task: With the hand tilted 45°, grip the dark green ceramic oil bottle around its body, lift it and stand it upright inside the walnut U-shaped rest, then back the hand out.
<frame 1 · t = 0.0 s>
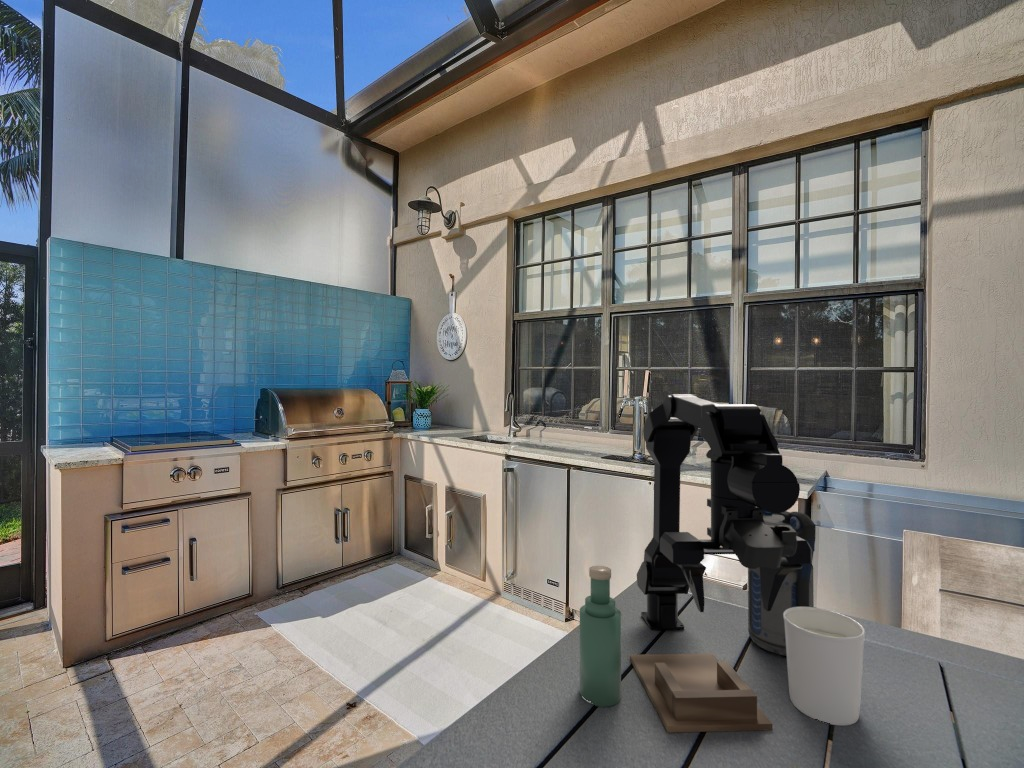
hand: (733, 610, 67), 15 cm above the table, tool pointing down, fingers open, 9 cm apart
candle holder: (823, 708, 69), on the table
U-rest: (699, 700, 71), on the table
beverage bottle: (783, 648, 85), on the table
oil bottle: (600, 693, 72), on the table
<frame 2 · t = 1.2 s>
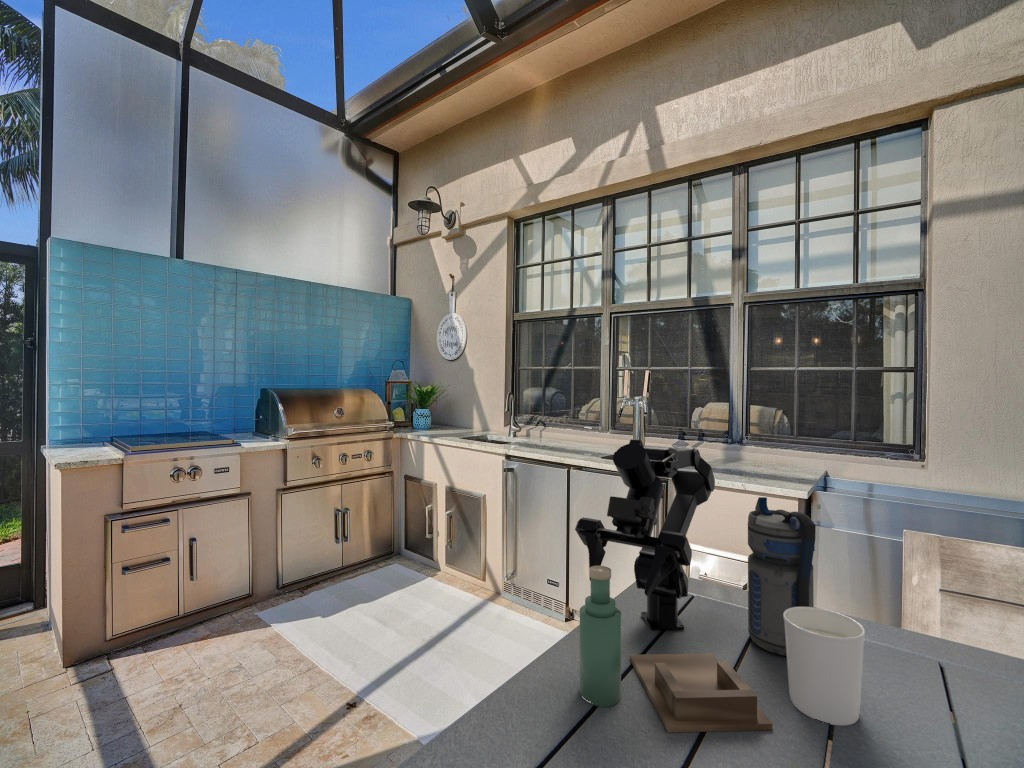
hand: (617, 587, 78), 13 cm above the table, tool tilted 45°, fingers open, 9 cm apart
nothing on the table moved.
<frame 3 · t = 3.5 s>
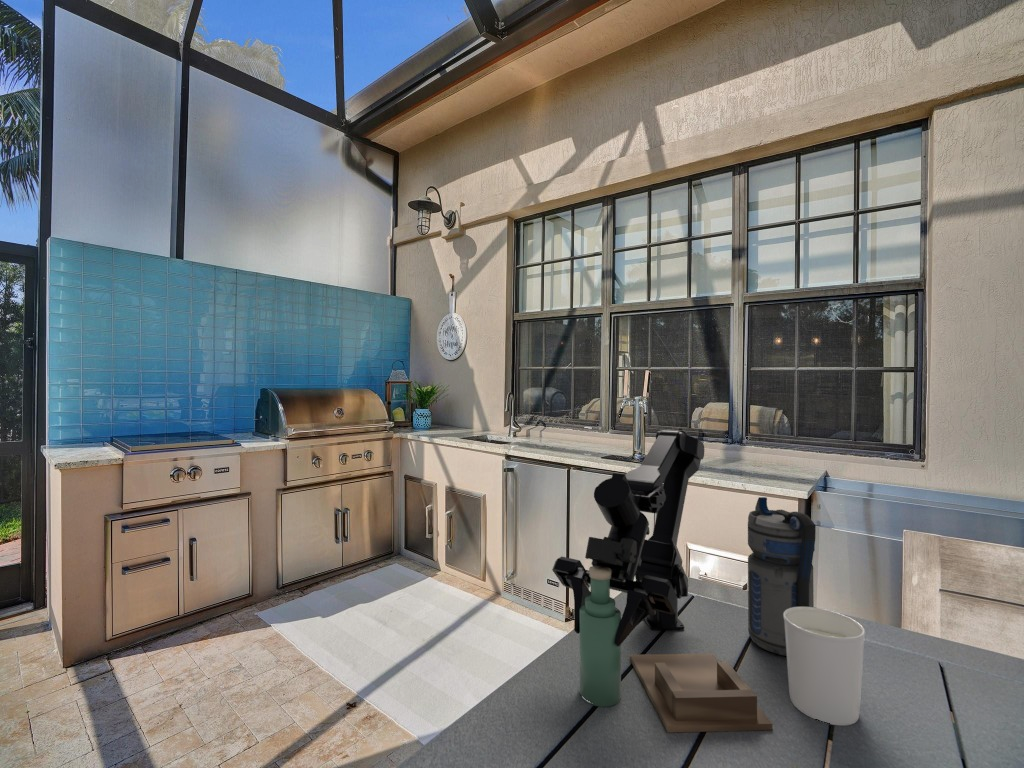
hand: (596, 638, 71), 9 cm above the table, tool tilted 45°, fingers closed on oil bottle, 6 cm apart
oil bottle: (600, 693, 72), on the table, touching gripper
everything else where it was.
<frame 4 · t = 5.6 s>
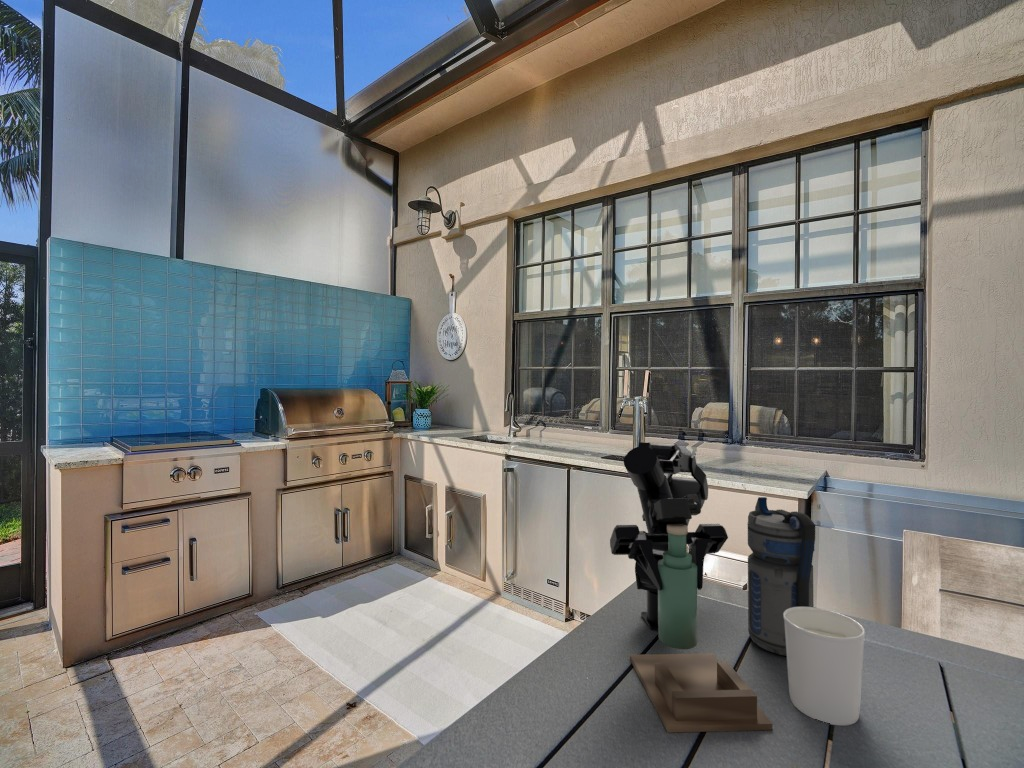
hand: (680, 589, 77), 13 cm above the table, tool tilted 45°, fingers closed on oil bottle, 6 cm apart
oil bottle: (677, 639, 79), point 5 cm above the table, touching gripper
everything else where it was.
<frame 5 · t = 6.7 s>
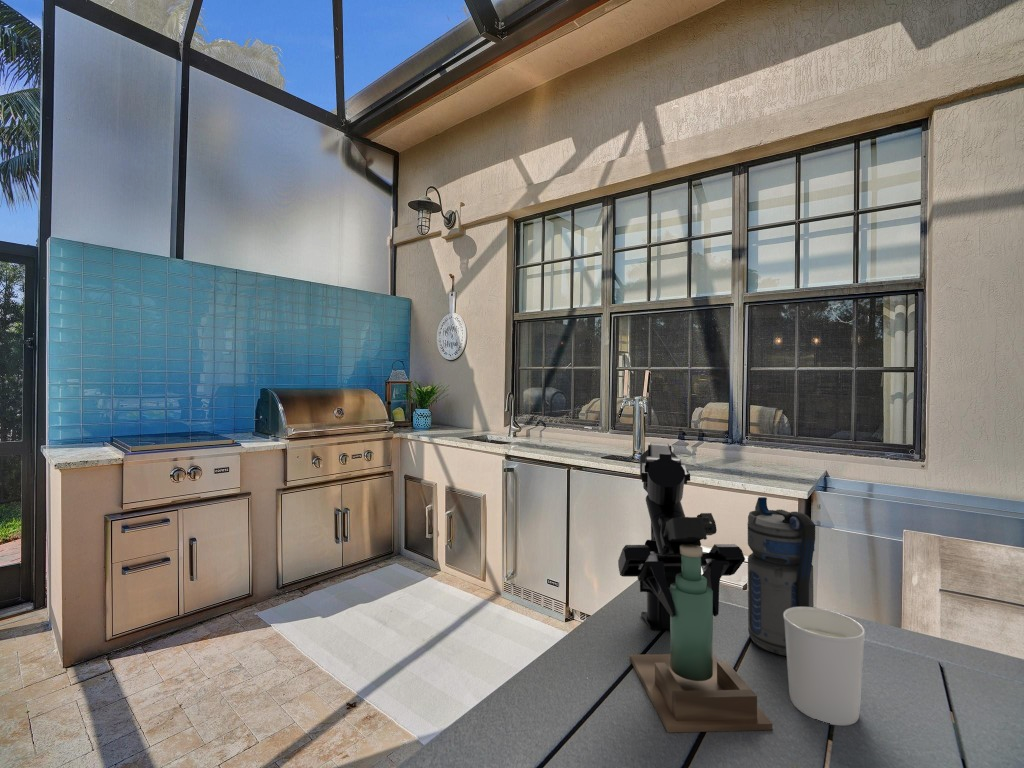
hand: (694, 615, 72), 12 cm above the table, tool tilted 45°, fingers closed on oil bottle, 6 cm apart
oil bottle: (691, 669, 73), point 3 cm above the table, touching gripper
everything else where it was.
when the fingers open (11 cm above the table, at t = 7.7 s): oil bottle drops 1 cm, resting on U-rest.
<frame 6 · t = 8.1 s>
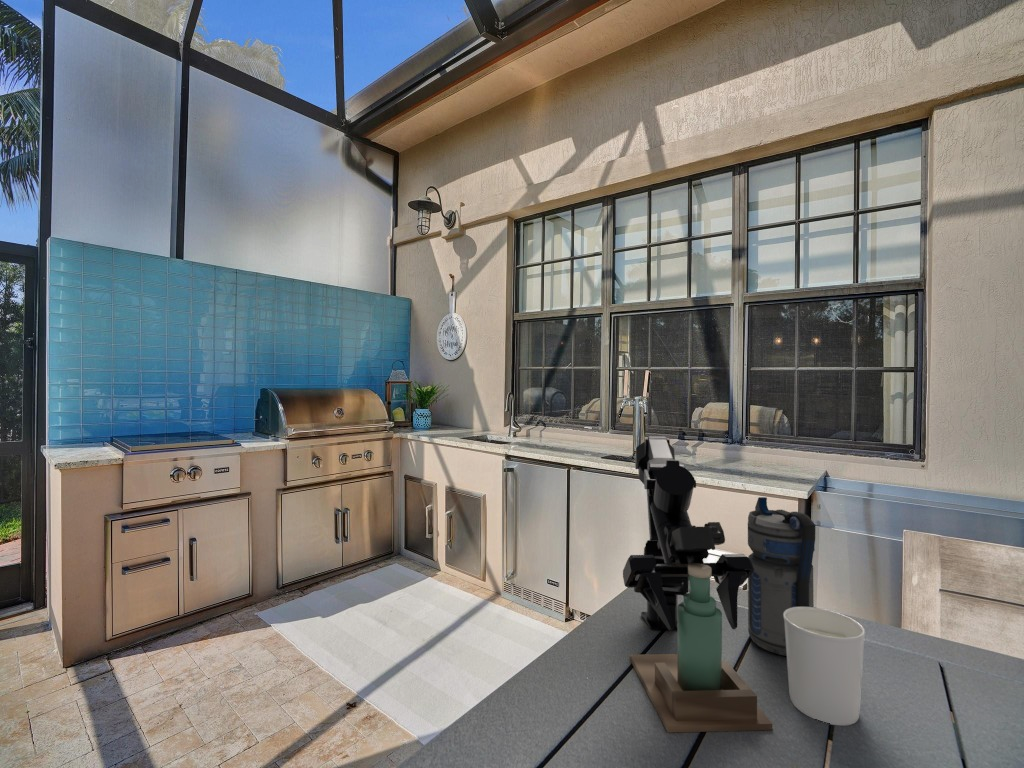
hand: (703, 628, 69), 11 cm above the table, tool tilted 45°, fingers open, 9 cm apart
oil bottle: (699, 693, 71), point 1 cm above the table, touching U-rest
everything else where it was.
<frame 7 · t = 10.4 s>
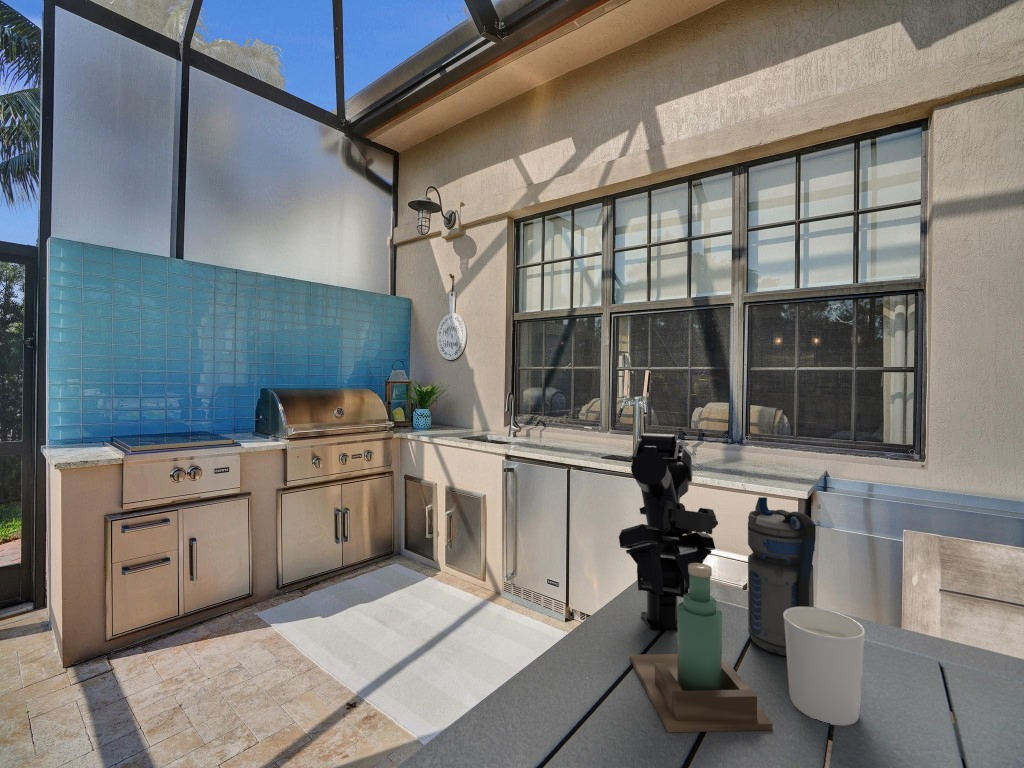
hand: (678, 595, 80), 12 cm above the table, tool tilted 30°, fingers open, 9 cm apart
nothing on the table moved.
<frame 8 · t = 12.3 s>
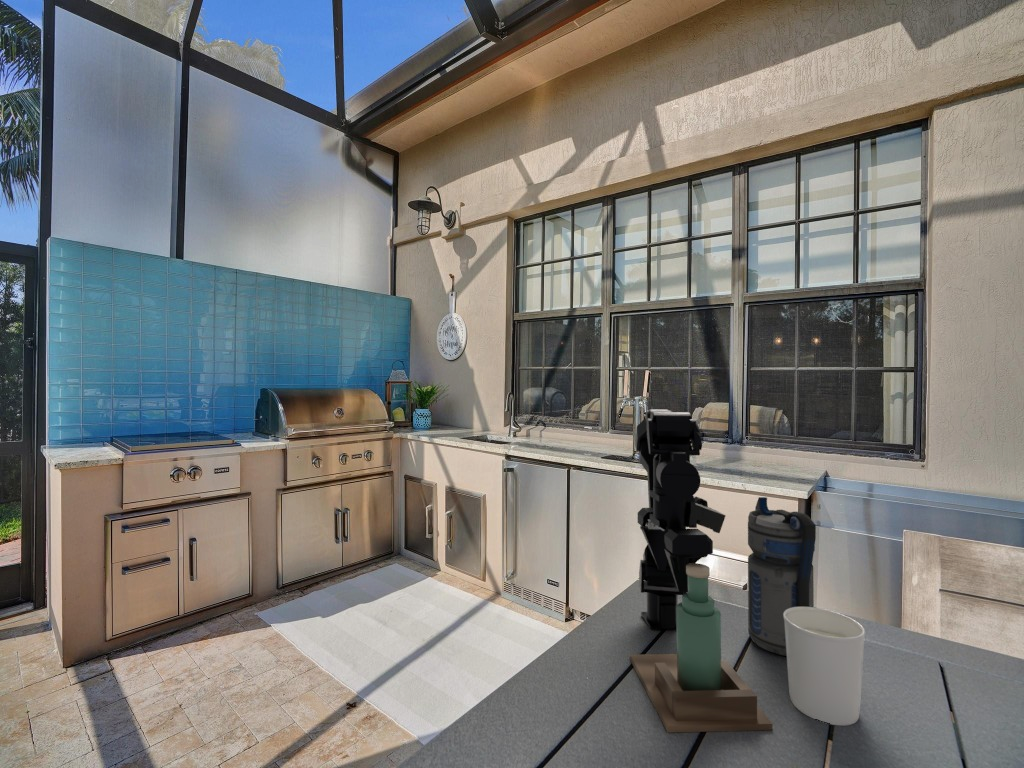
hand: (671, 580, 82), 13 cm above the table, tool pointing down, fingers open, 9 cm apart
nothing on the table moved.
at the end: oil bottle 0.2 cm off-centre on the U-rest, point 0.8 cm above the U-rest's base; oil bottle tilted 1°; the gripper is holding nothing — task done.
